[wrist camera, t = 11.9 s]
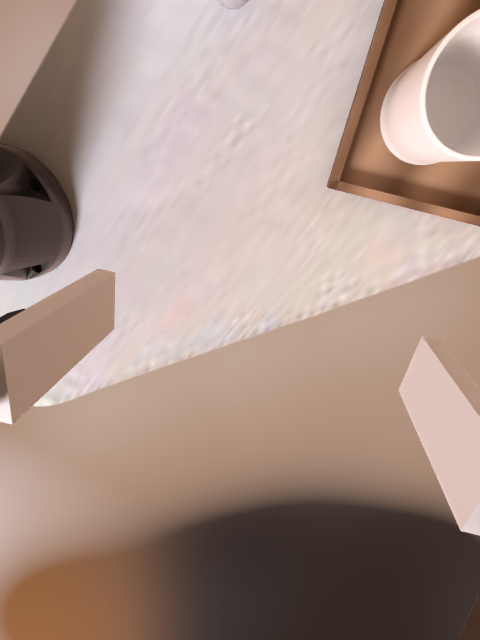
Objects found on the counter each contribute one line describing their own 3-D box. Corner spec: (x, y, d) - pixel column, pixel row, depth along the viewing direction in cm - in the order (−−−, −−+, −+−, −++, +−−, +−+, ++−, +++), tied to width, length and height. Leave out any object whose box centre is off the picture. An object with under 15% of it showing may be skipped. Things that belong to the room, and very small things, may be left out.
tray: (326, 186, 36) (328, 187, 34) (394, -32, 29) (401, -48, 27) (475, 223, 35) (487, 228, 33) (583, 8, 28) (607, -5, 26)
